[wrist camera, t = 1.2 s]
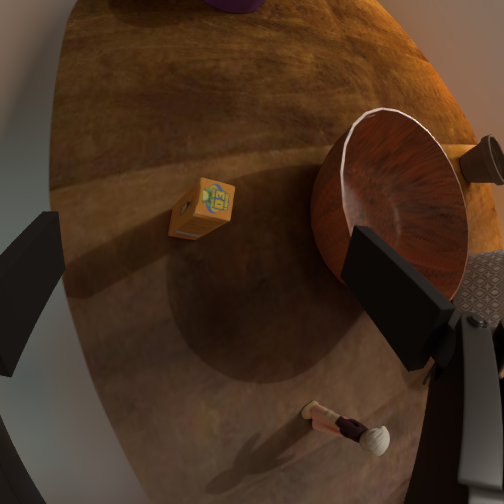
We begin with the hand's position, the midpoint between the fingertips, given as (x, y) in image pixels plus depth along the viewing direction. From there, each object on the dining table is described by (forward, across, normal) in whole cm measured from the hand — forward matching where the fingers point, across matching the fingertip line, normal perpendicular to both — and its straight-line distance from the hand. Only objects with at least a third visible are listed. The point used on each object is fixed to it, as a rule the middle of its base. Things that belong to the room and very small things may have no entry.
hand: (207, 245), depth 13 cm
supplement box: (+20, -1, -7) cm, 21 cm away
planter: (+24, +54, -21) cm, 63 cm away
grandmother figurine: (+10, +16, -29) cm, 34 cm away
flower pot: (+42, +60, +2) cm, 73 cm away
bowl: (+25, +23, -8) cm, 35 cm away
